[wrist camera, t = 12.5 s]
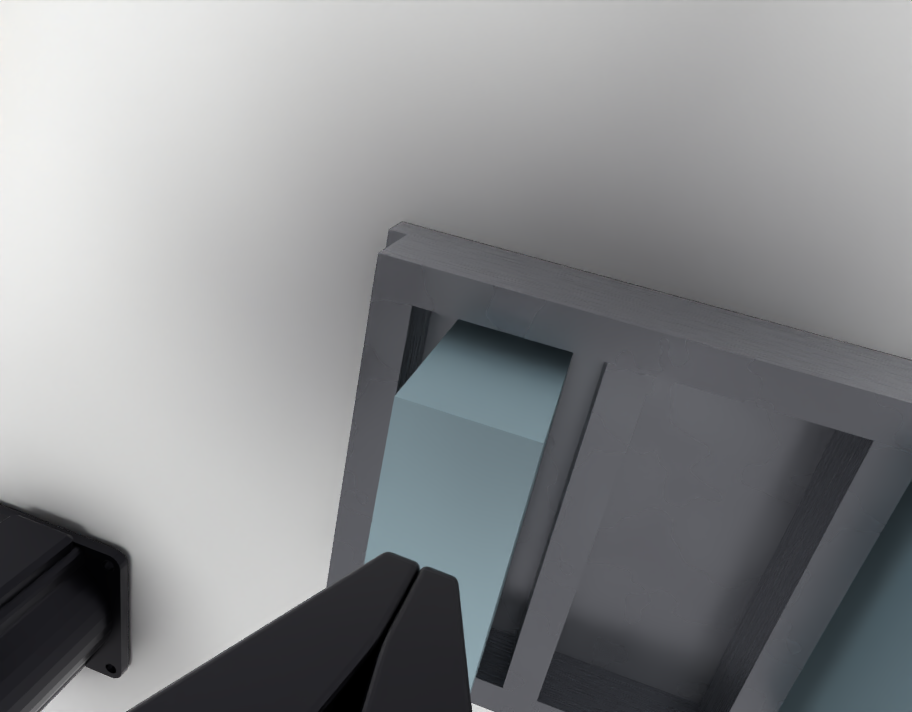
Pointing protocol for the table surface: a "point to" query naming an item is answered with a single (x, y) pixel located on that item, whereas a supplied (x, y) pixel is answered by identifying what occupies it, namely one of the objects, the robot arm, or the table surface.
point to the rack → (649, 481)
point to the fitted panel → (467, 463)
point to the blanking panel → (867, 634)
